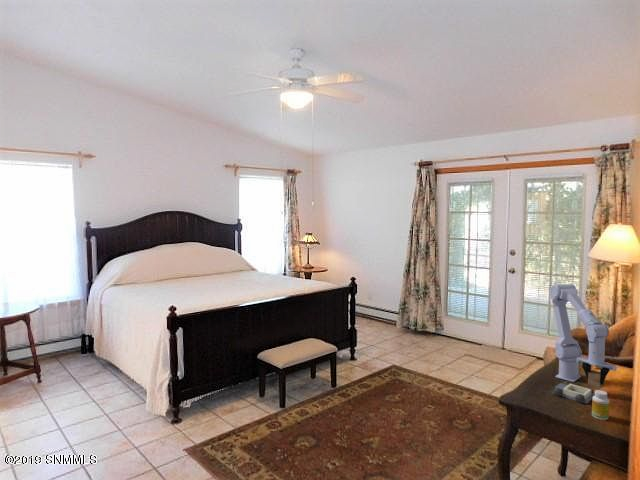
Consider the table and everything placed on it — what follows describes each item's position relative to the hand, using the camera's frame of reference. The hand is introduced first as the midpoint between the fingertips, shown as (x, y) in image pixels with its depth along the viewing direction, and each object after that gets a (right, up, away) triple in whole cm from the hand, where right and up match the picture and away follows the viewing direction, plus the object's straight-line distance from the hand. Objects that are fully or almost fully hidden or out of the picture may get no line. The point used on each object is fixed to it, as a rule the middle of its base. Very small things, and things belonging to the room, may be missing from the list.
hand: (595, 382), depth 181 cm
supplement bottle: (-12, -6, -21) cm, 24 cm away
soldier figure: (+22, -3, +31) cm, 38 cm away
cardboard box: (0, -2, 0) cm, 2 cm away
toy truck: (-11, -5, -2) cm, 12 cm away
